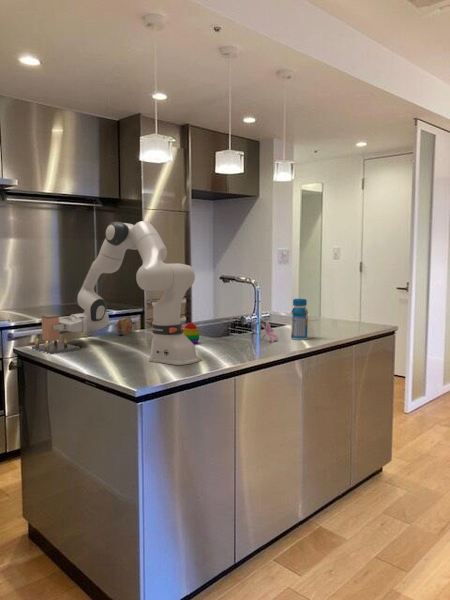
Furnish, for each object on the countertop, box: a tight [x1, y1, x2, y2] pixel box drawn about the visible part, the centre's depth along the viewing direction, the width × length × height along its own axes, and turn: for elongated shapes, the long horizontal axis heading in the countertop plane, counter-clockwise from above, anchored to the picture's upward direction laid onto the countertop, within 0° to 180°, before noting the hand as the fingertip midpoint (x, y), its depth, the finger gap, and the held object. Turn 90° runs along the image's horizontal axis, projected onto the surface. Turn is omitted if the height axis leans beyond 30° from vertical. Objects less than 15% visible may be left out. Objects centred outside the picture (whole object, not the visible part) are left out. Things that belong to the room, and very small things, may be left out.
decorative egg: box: [183, 322, 200, 345], centre depth 231 cm, size 8×8×10 cm
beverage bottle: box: [290, 298, 309, 341], centre depth 242 cm, size 8×8×20 cm
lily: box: [260, 320, 280, 344], centre depth 236 cm, size 12×12×10 cm
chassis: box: [31, 337, 81, 355], centre depth 218 cm, size 17×14×5 cm
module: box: [41, 314, 61, 342], centre depth 218 cm, size 6×6×11 cm
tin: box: [116, 317, 133, 336], centre depth 259 cm, size 15×3×8 cm, turn 168°
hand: (48, 326), depth 217 cm, fingers closed on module, 5 cm apart
